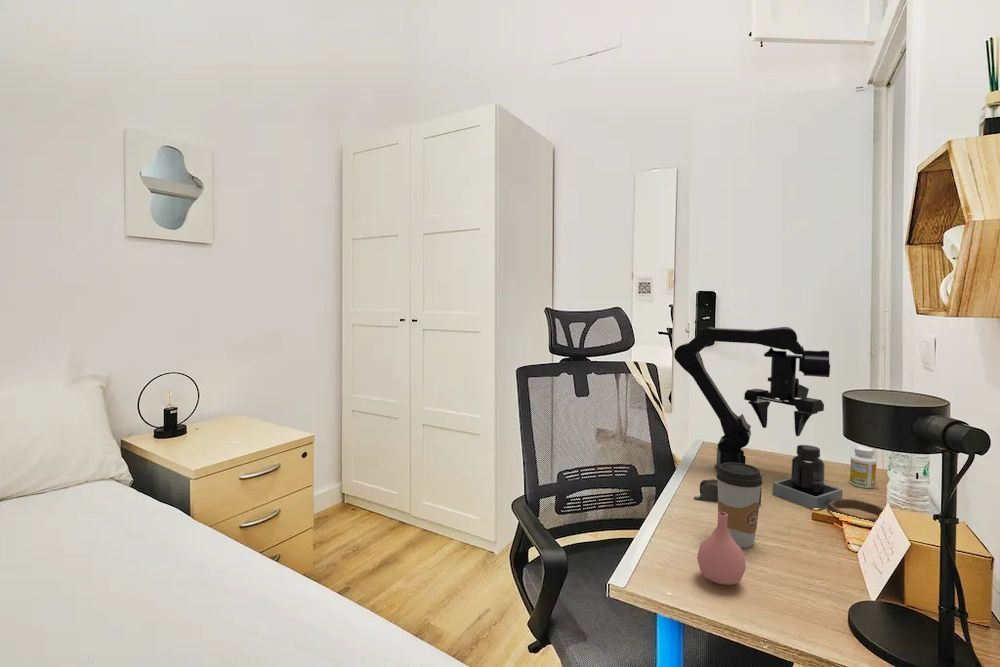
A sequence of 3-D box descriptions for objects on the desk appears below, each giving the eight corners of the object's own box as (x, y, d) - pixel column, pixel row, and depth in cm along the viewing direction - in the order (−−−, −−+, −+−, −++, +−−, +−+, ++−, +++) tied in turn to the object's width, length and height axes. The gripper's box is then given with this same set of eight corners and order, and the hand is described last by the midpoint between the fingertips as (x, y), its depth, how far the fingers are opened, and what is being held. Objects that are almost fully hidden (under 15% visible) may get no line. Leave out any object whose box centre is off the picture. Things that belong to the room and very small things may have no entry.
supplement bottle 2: (866, 481, 132) (868, 445, 132) (879, 489, 127) (882, 452, 126) (845, 480, 133) (847, 445, 132) (857, 488, 127) (859, 451, 127)
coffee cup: (741, 555, 94) (744, 478, 93) (705, 536, 101) (707, 465, 100) (769, 545, 98) (772, 471, 97) (732, 527, 105) (734, 459, 104)
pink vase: (754, 584, 84) (757, 516, 84) (728, 599, 80) (730, 528, 79) (713, 564, 91) (715, 500, 90) (687, 576, 87) (689, 510, 86)
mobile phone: (759, 483, 119) (693, 476, 122) (763, 487, 116) (696, 480, 119) (758, 503, 119) (692, 496, 122) (762, 508, 116) (694, 500, 119)
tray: (772, 494, 123) (772, 482, 123) (797, 486, 128) (798, 475, 128) (816, 510, 114) (816, 498, 114) (842, 501, 119) (842, 489, 119)
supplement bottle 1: (818, 492, 123) (821, 444, 122) (826, 502, 117) (829, 453, 116) (787, 488, 126) (789, 442, 125) (793, 498, 119) (796, 450, 118)
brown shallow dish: (847, 526, 106) (847, 518, 106) (820, 505, 117) (820, 497, 117) (901, 529, 105) (901, 520, 105) (869, 507, 116) (869, 500, 116)
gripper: (837, 377, 127) (834, 436, 128) (769, 367, 144) (766, 420, 145) (812, 380, 122) (809, 442, 123) (744, 370, 139) (741, 425, 140)
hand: (780, 431), depth 133 cm, fingers open, 9 cm apart
